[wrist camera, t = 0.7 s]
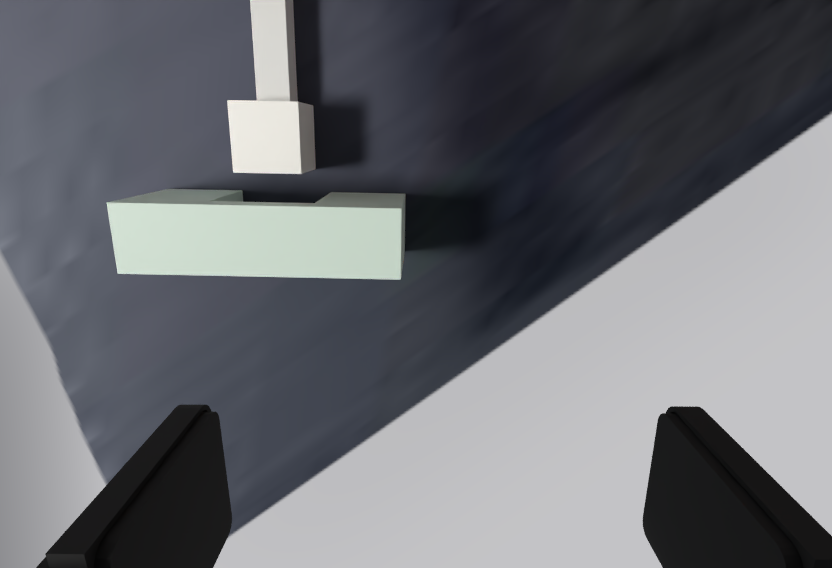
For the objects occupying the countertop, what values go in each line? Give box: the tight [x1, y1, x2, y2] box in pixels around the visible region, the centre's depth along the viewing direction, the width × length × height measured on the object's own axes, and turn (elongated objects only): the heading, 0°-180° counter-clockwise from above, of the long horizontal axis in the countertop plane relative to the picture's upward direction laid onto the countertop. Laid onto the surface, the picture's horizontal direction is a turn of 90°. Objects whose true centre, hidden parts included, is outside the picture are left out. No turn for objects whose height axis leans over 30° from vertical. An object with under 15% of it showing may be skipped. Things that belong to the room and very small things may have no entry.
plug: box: [227, 0, 316, 174], centre depth 30 cm, size 14×4×4 cm, turn 179°
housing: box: [107, 189, 405, 280], centre depth 31 cm, size 4×16×7 cm, turn 89°
